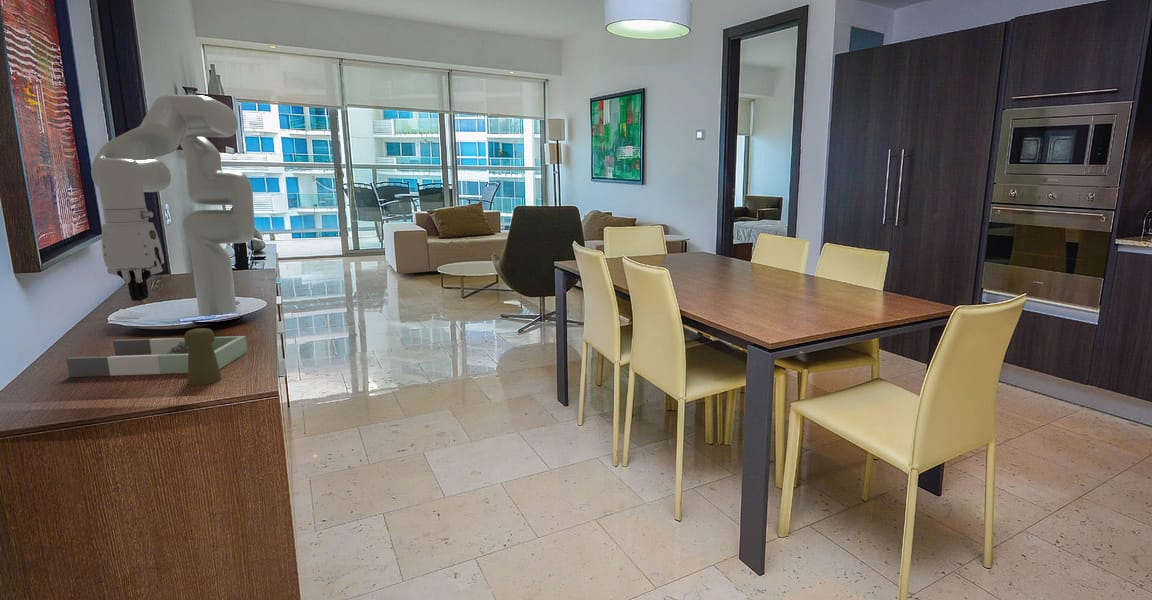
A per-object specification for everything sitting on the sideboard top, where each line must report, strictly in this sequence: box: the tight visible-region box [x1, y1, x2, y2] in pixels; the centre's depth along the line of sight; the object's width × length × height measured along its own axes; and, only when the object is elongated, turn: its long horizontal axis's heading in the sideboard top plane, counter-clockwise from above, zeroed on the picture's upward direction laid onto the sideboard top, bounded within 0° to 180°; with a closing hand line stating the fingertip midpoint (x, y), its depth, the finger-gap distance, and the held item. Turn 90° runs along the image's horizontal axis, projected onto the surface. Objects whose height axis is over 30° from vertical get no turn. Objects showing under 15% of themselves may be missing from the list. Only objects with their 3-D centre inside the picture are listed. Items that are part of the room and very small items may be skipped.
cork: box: [183, 327, 223, 386], centre depth 120 cm, size 6×6×11 cm
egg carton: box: [162, 341, 189, 354], centre depth 132 cm, size 11×8×4 cm
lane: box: [66, 335, 248, 378], centre depth 133 cm, size 16×29×4 cm, turn 96°
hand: (140, 299), depth 130 cm, fingers closed
